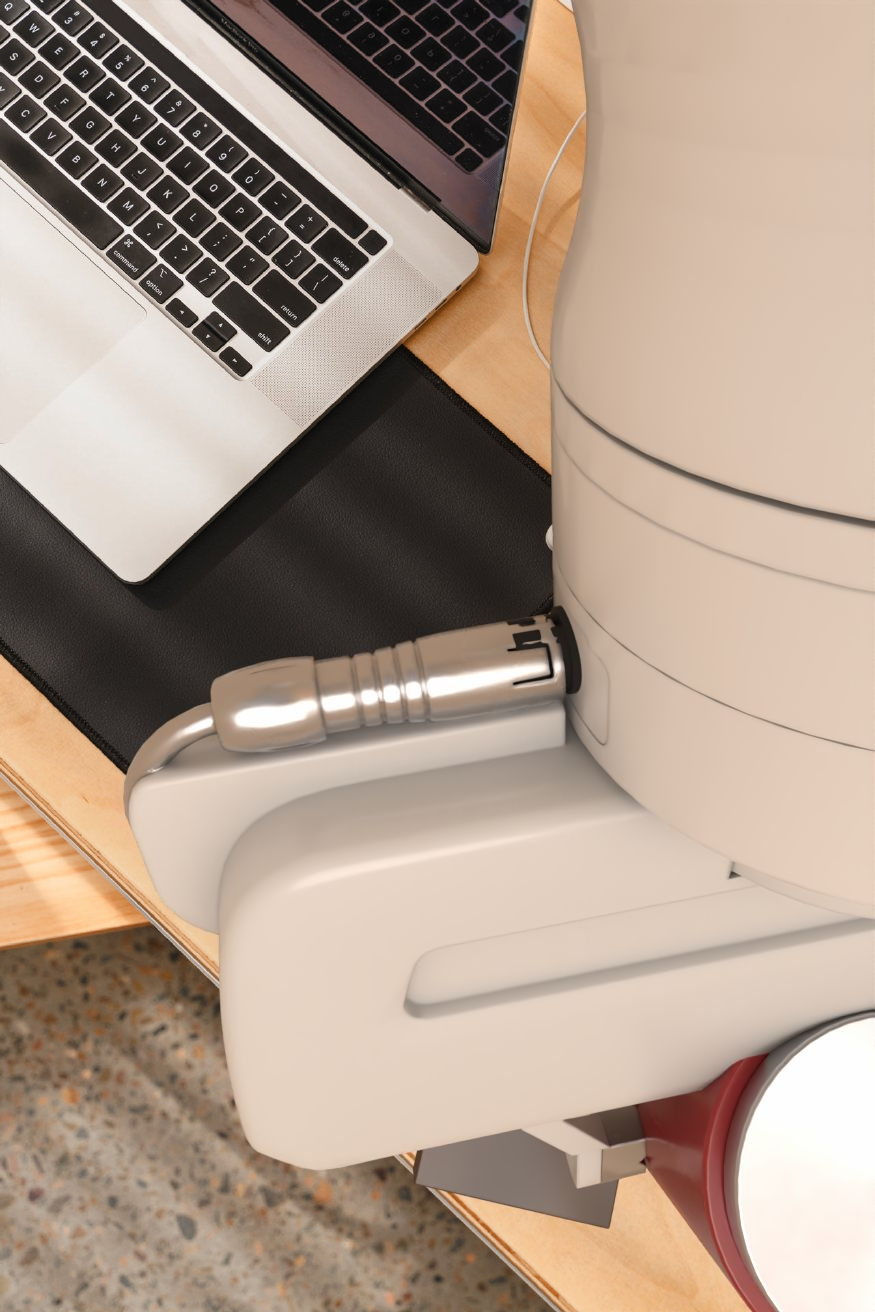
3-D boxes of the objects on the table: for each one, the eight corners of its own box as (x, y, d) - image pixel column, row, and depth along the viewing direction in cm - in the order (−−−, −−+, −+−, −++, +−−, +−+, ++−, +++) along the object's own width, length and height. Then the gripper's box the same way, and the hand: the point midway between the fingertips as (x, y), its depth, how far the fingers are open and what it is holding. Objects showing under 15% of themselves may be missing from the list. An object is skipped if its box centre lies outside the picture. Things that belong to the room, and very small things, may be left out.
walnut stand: (553, 945, 62) (649, 1024, 40) (526, 1075, 60) (609, 1230, 39) (430, 916, 61) (459, 979, 40) (400, 1046, 60) (413, 1185, 38)
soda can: (788, 933, 28) (1115, 1038, 16) (751, 1150, 27) (1067, 1445, 15) (586, 885, 28) (753, 953, 16) (542, 1101, 27) (683, 1359, 15)
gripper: (40, 908, 9) (292, 1396, 18) (1889, 565, 11) (1319, 1158, 19) (107, 566, 14) (278, 1072, 23) (1370, 367, 16) (1095, 906, 24)
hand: (765, 1111), depth 21 cm, fingers closed on soda can, 6 cm apart
